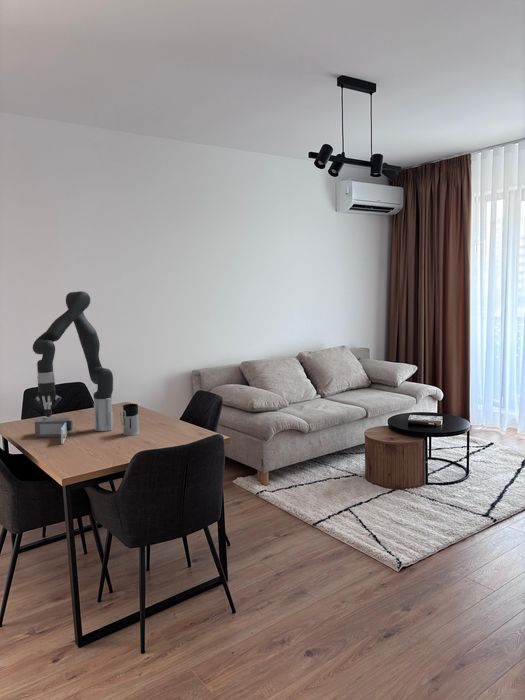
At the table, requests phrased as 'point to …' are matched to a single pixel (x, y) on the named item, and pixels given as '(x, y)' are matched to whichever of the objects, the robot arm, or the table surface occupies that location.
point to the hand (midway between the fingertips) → (48, 416)
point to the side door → (63, 433)
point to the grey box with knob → (52, 426)
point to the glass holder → (130, 419)
